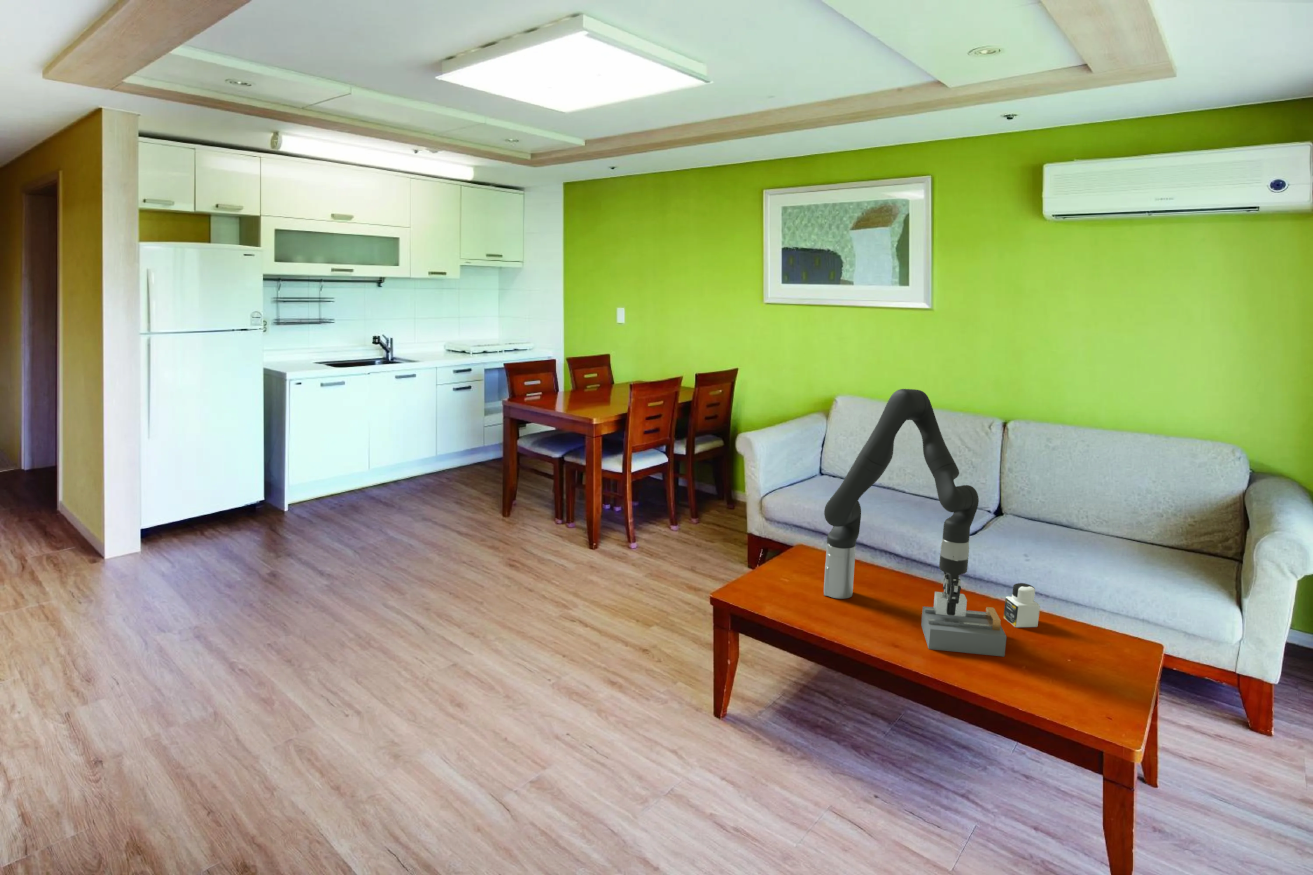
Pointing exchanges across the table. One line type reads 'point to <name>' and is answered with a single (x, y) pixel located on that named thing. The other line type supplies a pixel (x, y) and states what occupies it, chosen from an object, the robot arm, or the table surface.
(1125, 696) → the table surface
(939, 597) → the aluminium block
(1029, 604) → the medicine bottle
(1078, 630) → the table surface
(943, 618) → the channel stand
